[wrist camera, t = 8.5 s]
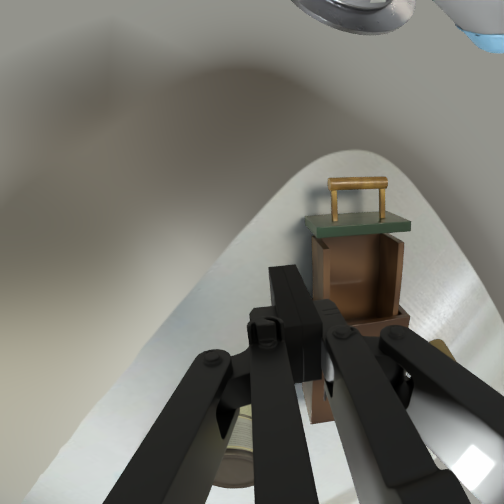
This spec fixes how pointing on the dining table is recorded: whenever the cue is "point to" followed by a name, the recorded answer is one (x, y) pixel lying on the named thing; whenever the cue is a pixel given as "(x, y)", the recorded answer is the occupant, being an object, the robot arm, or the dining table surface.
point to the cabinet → (315, 389)
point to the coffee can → (238, 455)
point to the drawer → (358, 255)
